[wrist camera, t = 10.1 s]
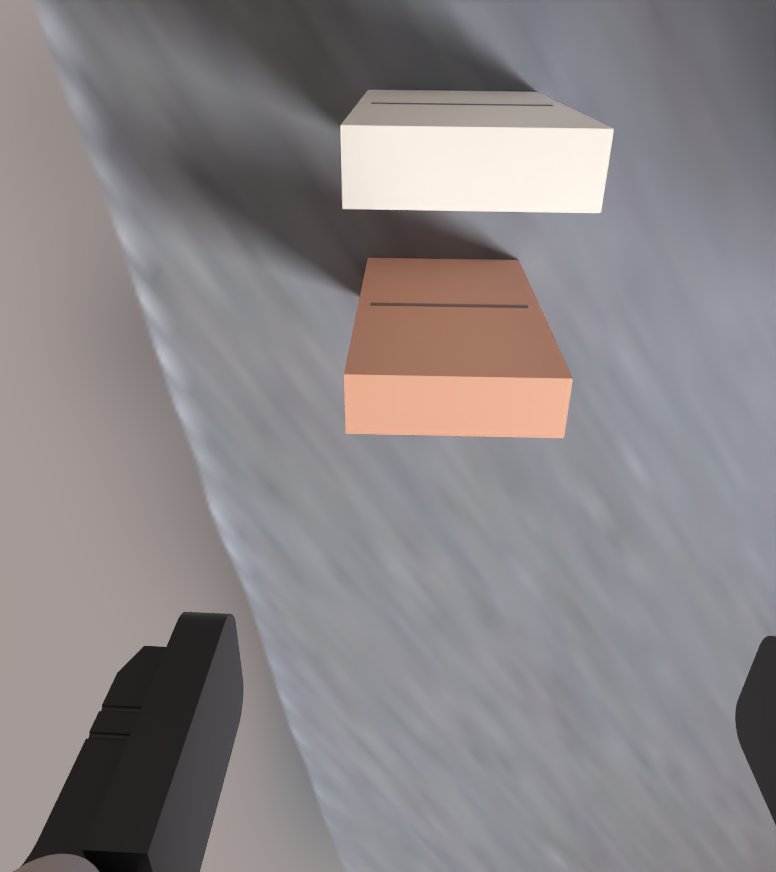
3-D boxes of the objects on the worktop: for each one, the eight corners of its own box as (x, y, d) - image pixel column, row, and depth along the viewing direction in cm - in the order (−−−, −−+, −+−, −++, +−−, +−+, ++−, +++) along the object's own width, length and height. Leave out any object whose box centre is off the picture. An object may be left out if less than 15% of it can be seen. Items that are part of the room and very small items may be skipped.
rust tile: (367, 257, 28) (344, 373, 18) (518, 259, 28) (572, 377, 18) (368, 301, 29) (346, 434, 19) (514, 303, 29) (563, 438, 19)
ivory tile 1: (368, 89, 25) (340, 124, 15) (537, 90, 25) (613, 127, 15) (368, 144, 26) (342, 210, 16) (531, 147, 26) (600, 213, 16)
